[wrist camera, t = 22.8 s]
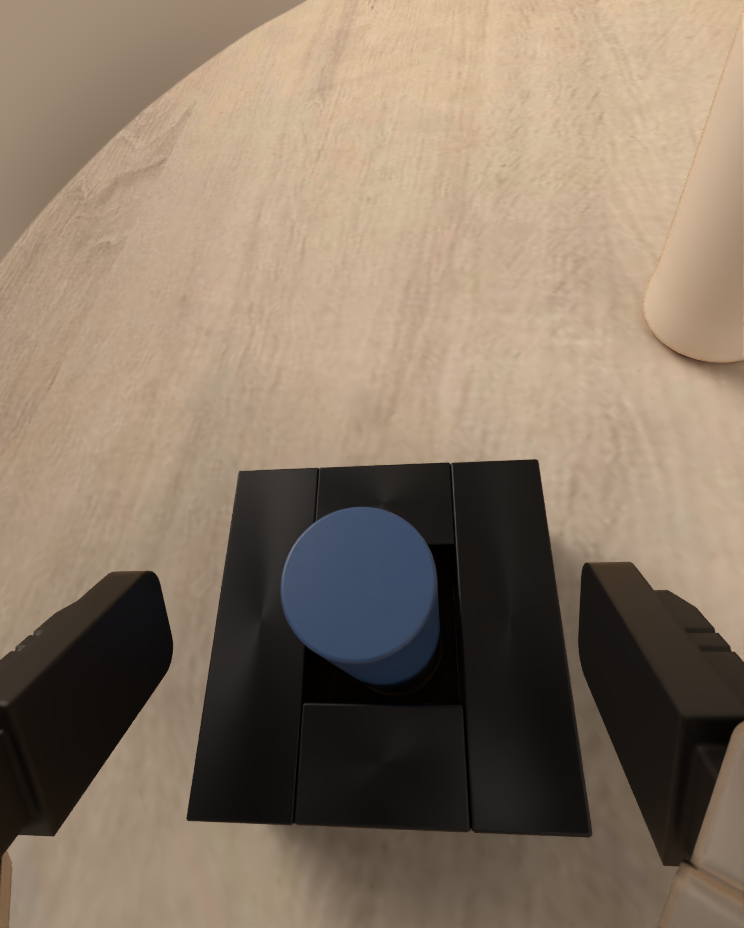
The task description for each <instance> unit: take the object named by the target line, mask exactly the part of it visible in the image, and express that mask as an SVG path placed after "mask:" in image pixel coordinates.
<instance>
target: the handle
mask: <svg viewBox="0 0 744 928" xmlns="http://www.w3.org/2000/svg"><path fill="white" fill-rule="evenodd" d="M281 601H282V607H283V610H284V614H285V617H286V619H287V621H288V623H289V625H290V627H291V629H292V630H293V632H294V633H295V635H296V636H297V637H298V638H299V640H300V641H301V642H302V643H303V644H305V645H306V646H307V647H308V648H309V649H310V650H312V651H313V652H315V653H316V654H318V655H319V656H321V657H323V658H324V659H326V660H327V661H329V662H331V663H332V664H334V665H335V666H337V667H339V668H340V669H342V670H343V671H345V672H347V673H348V674H350V675H351V676H353V677H355V678H356V679H358V680H359V681H360V682H361V683H362V684H363V685H365V686H366V687H368V688H369V689H371V690H372V691H374V692H376V693H379V694H382V695H385V696H390V697H399V696H405V695H409V694H412V693H414V692H416V691H418V690H420V689H421V688H422V687H424V686H425V685H426V684H427V683H428V682H429V681H430V680H431V679H432V677H433V676H434V675H435V673H436V671H437V669H438V666H439V664H440V660H441V656H442V636H441V631H440V624H439V605H438V586H437V573H436V566H435V562H434V559H433V555H432V553H431V551H430V549H429V546H428V545H427V543H426V542H425V540H424V538H423V537H422V536H421V535H420V533H419V532H418V531H417V530H416V529H415V528H414V527H413V526H412V525H411V524H410V523H408V522H407V521H406V520H404V519H403V518H401V517H399V516H397V515H395V514H393V513H391V512H388V511H386V510H382V509H378V508H371V507H353V508H346V509H342V510H338V511H335V512H333V513H330V514H328V515H326V516H324V517H322V518H321V519H319V520H318V521H316V522H315V523H313V524H312V525H311V526H310V527H309V528H307V529H306V530H305V531H304V532H303V533H302V535H301V536H300V537H299V538H298V539H297V541H296V542H295V544H294V545H293V546H292V548H291V550H290V552H289V554H288V556H287V559H286V561H285V564H284V567H283V571H282V576H281Z"/></svg>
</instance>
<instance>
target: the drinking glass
mask: <svg viewBox="0 0 744 928" xmlns="http://www.w3.org/2000/svg"><path fill="white" fill-rule="evenodd" d="M643 313H644V317H645V320H646V322H647V324H648V326H649V328H650V330H651V331H652V332H653V334H654V335H655V336H656V337H657V338H658V339H659V340H660V341H661V342H662V343H664V344H665V345H666V346H668V347H669V348H671V349H672V350H674V351H676V352H678V353H680V354H682V355H684V356H687V357H690V358H693V359H697V360H701V361H706V362H716V363H728V362H737V361H742V360H744V8H743V11H742V14H741V17H740V20H739V23H738V26H737V29H736V32H735V35H734V38H733V41H732V44H731V47H730V50H729V53H728V56H727V59H726V62H725V65H724V68H723V71H722V74H721V77H720V80H719V83H718V86H717V89H716V92H715V95H714V98H713V101H712V104H711V107H710V110H709V113H708V116H707V119H706V122H705V125H704V128H703V131H702V134H701V137H700V140H699V143H698V146H697V149H696V152H695V155H694V158H693V161H692V164H691V167H690V170H689V173H688V176H687V179H686V182H685V185H684V188H683V191H682V193H681V196H680V199H679V202H678V205H677V208H676V211H675V214H674V217H673V220H672V223H671V226H670V229H669V232H668V234H667V237H666V240H665V243H664V246H663V249H662V252H661V254H660V257H659V260H658V262H657V264H656V267H655V269H654V271H653V273H652V276H651V278H650V280H649V282H648V285H647V287H646V290H645V293H644V297H643Z"/></svg>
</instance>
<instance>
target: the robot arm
mask: <svg viewBox="0 0 744 928" xmlns="http://www.w3.org/2000/svg"><path fill="white" fill-rule="evenodd" d="M578 646H579V655H580V661H581V666H582V670H583V673H584V676H585V679H586V681H587V684H588V686H589V688H590V691H591V693H592V696H593V698H594V700H595V703H596V705H597V708H598V710H599V712H600V715H601V717H602V719H603V722H604V724H605V727H606V729H607V731H608V734H609V736H610V739H611V741H612V743H613V746H614V748H615V751H616V753H617V755H618V758H619V760H620V763H621V765H622V767H623V770H624V772H625V775H626V777H627V779H628V782H629V784H630V786H631V789H632V791H633V794H634V796H635V798H636V801H637V803H638V806H639V808H640V810H641V813H642V815H643V818H644V820H645V822H646V825H647V827H648V830H649V832H650V834H651V837H652V839H653V841H654V844H655V846H656V849H657V851H658V853H659V856H660V858H661V861H662V863H663V865H664V866H679V869H678V871H677V874H676V876H675V879H674V882H673V884H672V887H671V890H670V893H669V896H668V899H667V902H666V905H665V908H664V911H663V913H662V916H661V919H660V922H659V925H658V928H744V662H743V661H742V660H741V658H740V657H739V656H738V655H737V654H736V653H735V652H731V649H730V646H729V645H728V643H727V642H726V641H725V640H724V639H723V638H722V637H721V635H720V634H719V633H715V629H714V627H713V626H712V625H711V624H710V623H709V622H708V620H707V619H706V618H705V617H704V616H703V615H702V614H701V612H700V611H699V610H698V609H697V608H696V607H695V606H693V605H691V604H690V603H688V602H686V601H685V600H683V599H681V598H680V597H678V596H677V595H675V594H673V593H672V592H670V591H668V590H653V588H652V587H651V586H650V585H649V583H648V582H647V581H646V579H645V578H644V577H643V576H642V574H641V573H640V572H639V570H638V569H637V568H636V567H635V565H634V564H633V563H631V562H600V563H585V564H584V566H583V569H582V575H581V593H580V613H579V634H578ZM172 654H173V639H172V634H171V630H170V625H169V621H168V616H167V612H166V607H165V603H164V599H163V594H162V590H161V585H160V581H159V579H158V577H157V575H156V574H155V573H154V572H152V571H119V572H111V573H109V574H108V575H106V576H105V577H104V578H103V579H102V580H101V581H99V582H98V583H97V584H96V585H95V586H94V587H93V588H91V589H90V590H89V591H88V592H87V593H86V594H85V595H83V596H82V597H81V598H80V599H79V600H78V601H76V602H75V603H73V604H71V605H69V606H67V607H66V608H64V609H62V610H60V611H58V612H57V613H55V614H54V615H53V616H51V617H50V618H49V619H48V620H47V621H46V622H44V623H43V624H42V625H41V626H40V627H39V628H37V629H36V630H35V631H34V634H33V635H29V636H28V637H27V638H26V639H25V640H23V641H22V642H21V643H20V644H19V645H18V646H16V650H15V651H11V652H9V653H8V654H7V655H6V656H5V657H3V658H2V659H1V660H0V928H9V917H10V899H11V881H12V862H11V859H10V857H9V854H8V852H7V849H8V848H9V846H10V845H11V844H12V842H13V841H14V840H15V838H16V837H17V836H18V835H34V836H55V834H56V833H57V831H58V830H59V828H60V827H61V826H62V824H63V823H64V821H65V820H66V818H67V817H68V815H69V814H70V812H71V811H72V810H73V808H74V807H75V805H76V804H77V802H78V801H79V799H80V798H81V796H82V795H83V794H84V792H85V791H86V789H87V788H88V786H89V785H90V783H91V782H92V781H93V779H94V778H95V776H96V775H97V773H98V772H99V770H100V769H101V767H102V766H103V765H104V763H105V762H106V760H107V759H108V757H109V756H110V754H111V753H112V751H113V750H114V749H115V747H116V746H117V744H118V743H119V741H120V740H121V738H122V737H123V735H124V734H125V733H126V731H127V730H128V728H129V727H130V725H131V724H132V722H133V721H134V719H135V718H136V717H137V715H138V714H139V712H140V711H141V709H142V708H143V706H144V705H145V703H146V702H147V701H148V699H149V698H150V696H151V695H152V693H153V692H154V690H155V689H156V687H157V686H158V685H159V683H160V682H161V680H162V679H163V677H164V676H165V674H166V673H167V671H168V669H169V666H170V663H171V660H172Z"/></svg>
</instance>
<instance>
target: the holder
mask: <svg viewBox="0 0 744 928" xmlns="http://www.w3.org/2000/svg"><path fill="white" fill-rule="evenodd" d="M353 507H371V508H378V509H382V510H386V511H388V512H391V513H393V514H395V515H397V516H399V517H401V518H403V519H404V520H406V521H407V522H408V523H410V524H411V525H412V526H413V527H414V528H415V529H416V530H417V531H418V532H419V533H420V535H421V536H422V537H423V538H424V540H425V542H426V543H427V545H428V546H429V549H430V551H431V553H432V555H433V559H434V562H435V566H436V573H437V586H452V585H453V600H454V618H455V637H456V656H457V675H458V693H459V704H424V703H349V702H336V687H337V666H335V665H334V664H332V663H331V662H329V661H327V660H326V659H324V658H323V657H321V656H319V655H318V654H316V653H315V652H313V651H312V650H310V649H309V648H308V647H307V646H306V645H305V644H303V643H302V642H301V641H300V640H299V638H298V637H297V636H296V635H295V633H294V632H293V630H292V629H291V627H290V625H289V623H288V621H287V619H286V617H285V614H284V610H283V607H282V601H281V576H282V571H283V567H284V564H285V561H286V559H287V556H288V554H289V552H290V550H291V548H292V546H293V545H294V544H295V542H296V541H297V539H298V538H299V537H300V536H301V535H302V533H303V532H304V531H305V530H306V529H307V528H309V527H310V526H311V525H312V524H313V523H315V522H316V521H318V520H319V519H321V518H322V517H324V516H326V515H328V514H330V513H333V512H335V511H338V510H342V509H346V508H353ZM187 820H188V821H202V822H226V823H249V824H273V825H292V824H294V823H295V824H296V825H303V826H327V827H351V828H375V829H398V830H422V831H446V832H469V831H470V829H472V831H473V832H475V833H493V834H516V835H540V836H564V837H588V838H589V837H591V836H592V827H591V820H590V813H589V806H588V799H587V792H586V785H585V778H584V772H583V765H582V758H581V751H580V744H579V737H578V730H577V723H576V716H575V710H574V703H573V696H572V689H571V682H570V675H569V668H568V661H567V654H566V648H565V641H564V634H563V627H562V620H561V613H560V606H559V599H558V592H557V586H556V579H555V572H554V565H553V558H552V551H551V544H550V537H549V530H548V524H547V517H546V510H545V503H544V496H543V489H542V482H541V475H540V469H539V462H538V460H536V459H533V460H509V461H484V462H460V463H451V465H450V463H425V464H401V465H376V466H352V467H328V468H319V469H318V468H303V469H279V470H255V471H239V474H238V481H237V488H236V494H235V501H234V507H233V514H232V521H231V527H230V534H229V541H228V547H227V554H226V561H225V567H224V574H223V580H222V587H221V594H220V600H219V607H218V614H217V620H216V627H215V633H214V640H213V647H212V653H211V660H210V667H209V673H208V680H207V687H206V693H205V700H204V706H203V713H202V720H201V726H200V733H199V740H198V746H197V753H196V759H195V766H194V773H193V779H192V786H191V793H190V799H189V806H188V813H187Z"/></svg>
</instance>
